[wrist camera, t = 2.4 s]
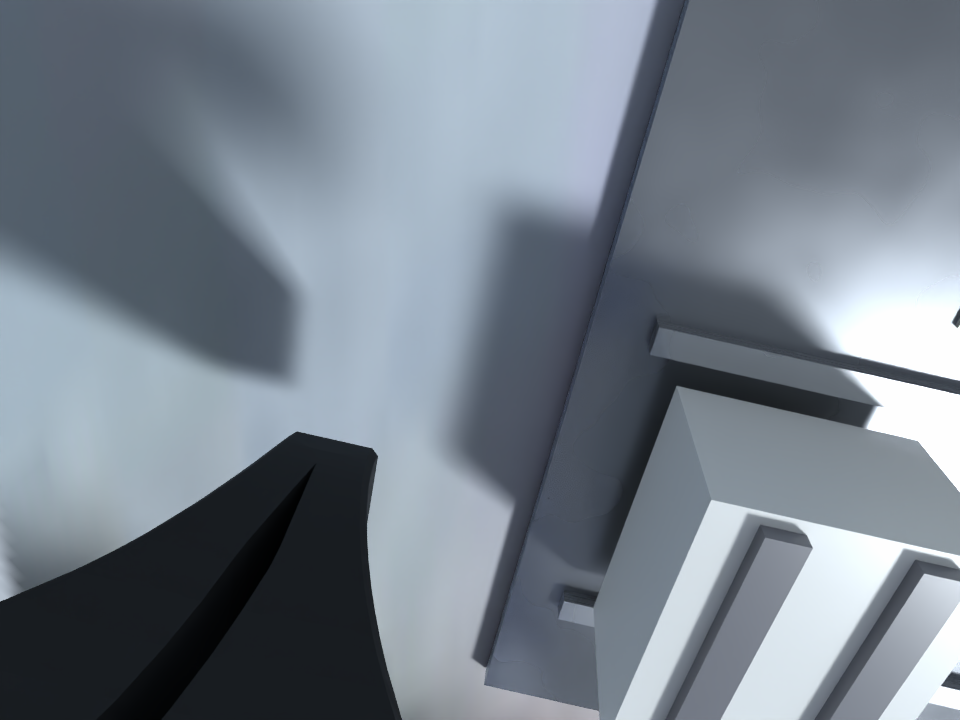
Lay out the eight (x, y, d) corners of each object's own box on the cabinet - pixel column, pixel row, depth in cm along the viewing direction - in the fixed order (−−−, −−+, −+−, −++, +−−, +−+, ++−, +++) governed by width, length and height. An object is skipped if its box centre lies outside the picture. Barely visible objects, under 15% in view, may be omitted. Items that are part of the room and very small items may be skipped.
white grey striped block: (795, 652, 14) (857, 824, 11) (593, 607, 14) (602, 766, 11) (918, 440, 12) (1036, 584, 9) (676, 385, 12) (715, 512, 9)
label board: (1000, 786, 16) (1018, 817, 16) (485, 670, 16) (482, 696, 16) (1661, 26, 9) (1739, 29, 9) (739, -183, 9) (752, -196, 9)
